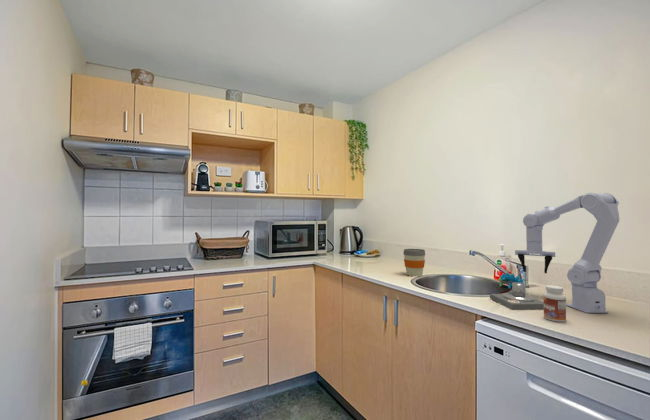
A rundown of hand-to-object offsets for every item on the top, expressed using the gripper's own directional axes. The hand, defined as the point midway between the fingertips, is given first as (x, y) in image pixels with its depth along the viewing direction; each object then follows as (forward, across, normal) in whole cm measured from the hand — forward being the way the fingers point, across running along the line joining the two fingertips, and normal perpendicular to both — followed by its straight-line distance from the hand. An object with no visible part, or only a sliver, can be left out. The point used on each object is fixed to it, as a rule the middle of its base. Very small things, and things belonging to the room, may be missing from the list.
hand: (534, 272), depth 132 cm
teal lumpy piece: (+11, +10, -12) cm, 19 cm away
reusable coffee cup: (+11, +58, -17) cm, 62 cm away
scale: (+10, +6, +18) cm, 21 cm away
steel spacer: (+8, +6, +15) cm, 18 cm away
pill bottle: (+11, -5, +32) cm, 34 cm away
